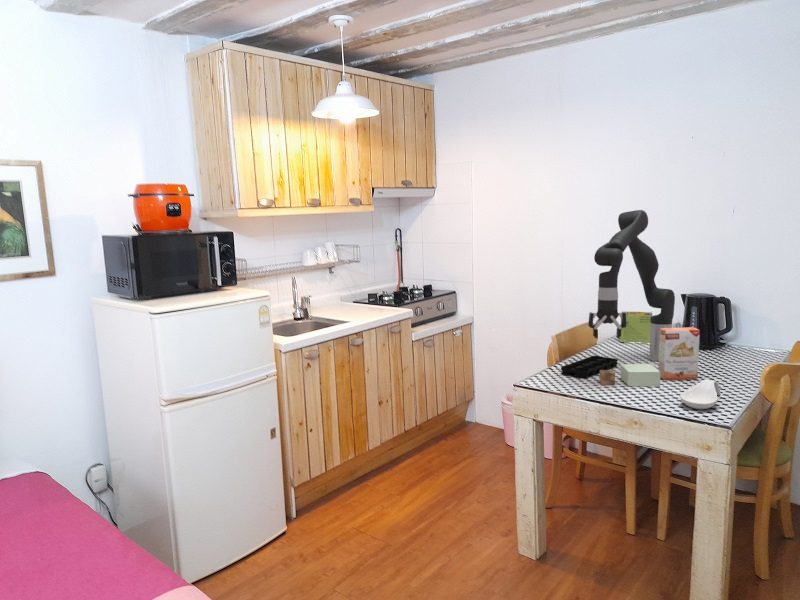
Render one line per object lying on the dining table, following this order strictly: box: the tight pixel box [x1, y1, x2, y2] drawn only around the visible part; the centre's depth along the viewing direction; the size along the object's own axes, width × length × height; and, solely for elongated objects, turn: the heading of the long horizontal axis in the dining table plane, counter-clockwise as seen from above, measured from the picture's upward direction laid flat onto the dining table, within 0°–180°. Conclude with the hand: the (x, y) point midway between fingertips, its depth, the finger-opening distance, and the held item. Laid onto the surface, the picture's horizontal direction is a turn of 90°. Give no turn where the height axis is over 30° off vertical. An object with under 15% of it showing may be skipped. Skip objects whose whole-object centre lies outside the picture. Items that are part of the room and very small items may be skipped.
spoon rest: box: [679, 378, 721, 410], centre depth 205 cm, size 24×12×7 cm, turn 137°
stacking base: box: [620, 363, 661, 388], centre depth 232 cm, size 12×12×6 cm
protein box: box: [619, 310, 653, 343], centre depth 303 cm, size 10×15×16 cm
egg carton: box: [560, 355, 619, 380], centre depth 253 cm, size 18×30×4 cm, turn 143°
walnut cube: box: [599, 369, 616, 386], centre depth 233 cm, size 5×5×5 cm
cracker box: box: [657, 326, 701, 381], centre depth 235 cm, size 14×6×21 cm, turn 90°
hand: (606, 338), depth 230 cm, fingers open, 8 cm apart
